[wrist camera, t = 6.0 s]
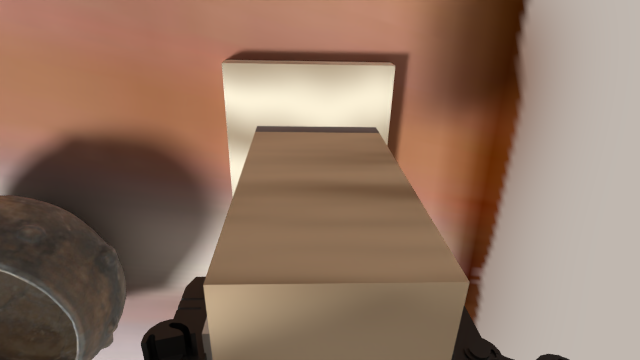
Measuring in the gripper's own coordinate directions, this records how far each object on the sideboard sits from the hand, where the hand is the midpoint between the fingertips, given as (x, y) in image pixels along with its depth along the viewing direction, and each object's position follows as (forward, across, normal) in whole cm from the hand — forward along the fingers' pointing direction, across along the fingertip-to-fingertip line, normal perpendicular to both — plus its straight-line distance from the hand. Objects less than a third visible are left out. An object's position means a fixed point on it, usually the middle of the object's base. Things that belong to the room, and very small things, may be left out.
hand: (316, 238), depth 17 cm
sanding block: (+2, 0, 0) cm, 2 cm away
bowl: (+16, -21, -11) cm, 28 cm away
